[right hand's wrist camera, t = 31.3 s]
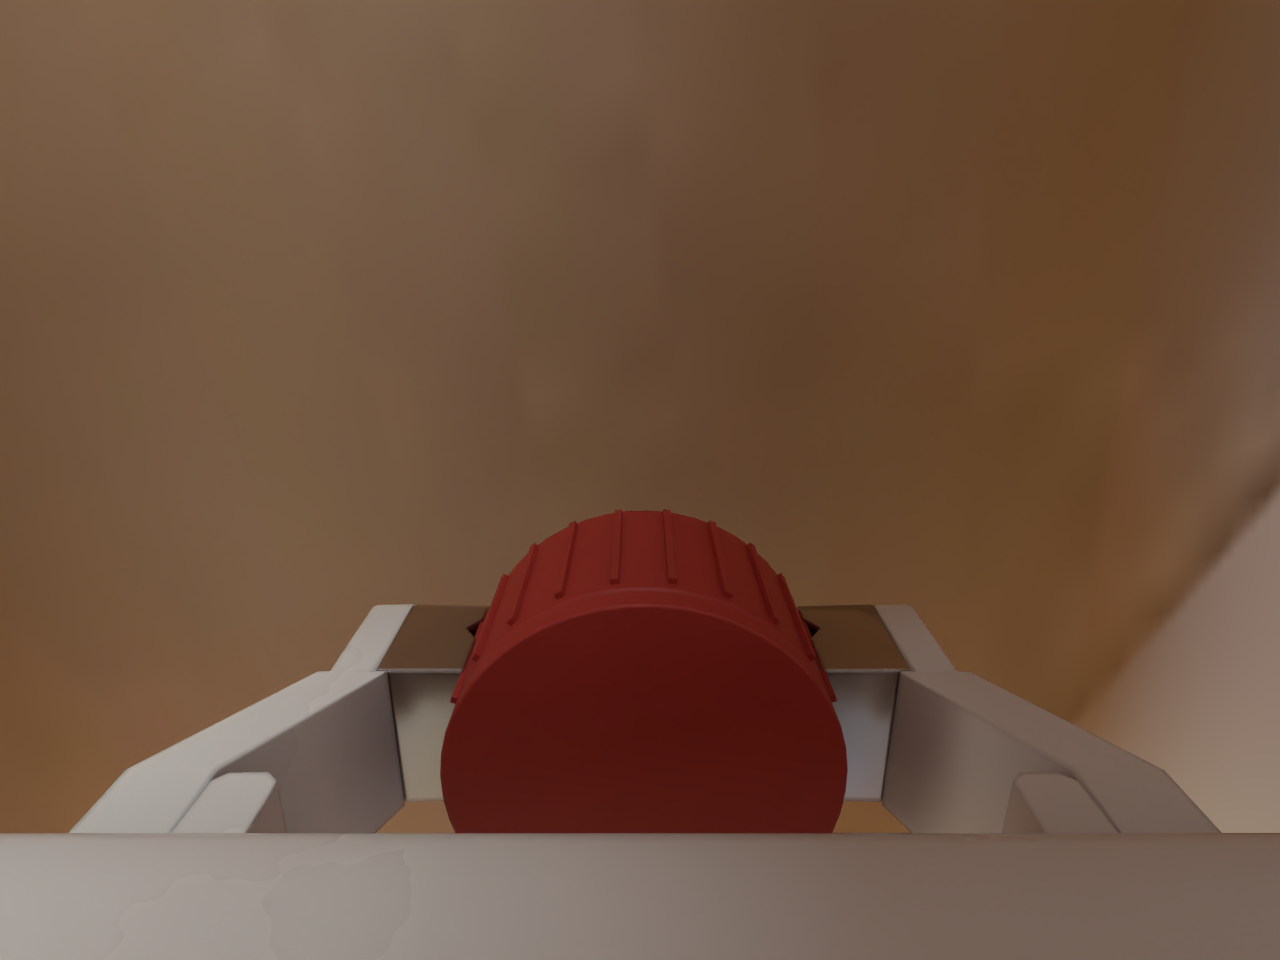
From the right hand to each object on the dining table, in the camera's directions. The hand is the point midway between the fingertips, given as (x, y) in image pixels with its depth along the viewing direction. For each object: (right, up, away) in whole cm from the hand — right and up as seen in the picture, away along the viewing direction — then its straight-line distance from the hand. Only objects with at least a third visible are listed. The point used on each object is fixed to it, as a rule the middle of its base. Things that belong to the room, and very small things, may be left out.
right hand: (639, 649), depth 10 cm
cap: (0, -1, -2) cm, 2 cm away
